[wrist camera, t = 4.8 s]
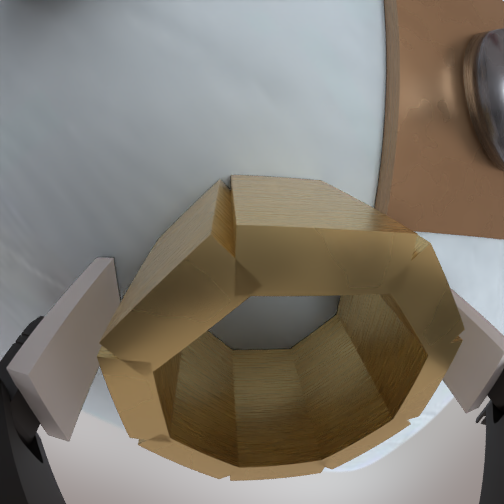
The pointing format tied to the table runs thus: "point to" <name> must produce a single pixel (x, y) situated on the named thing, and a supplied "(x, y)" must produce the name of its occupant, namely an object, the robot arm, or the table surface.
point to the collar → (279, 360)
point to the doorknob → (444, 117)
